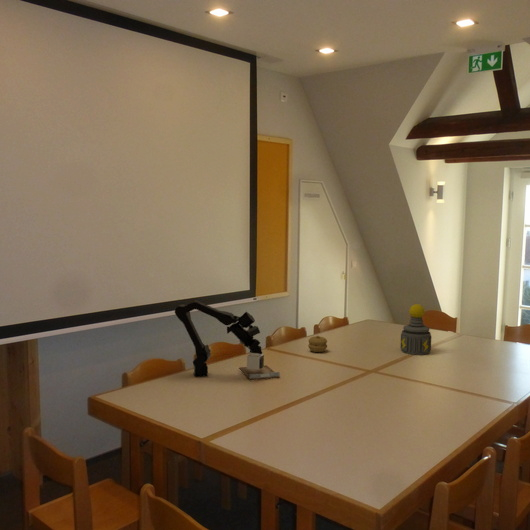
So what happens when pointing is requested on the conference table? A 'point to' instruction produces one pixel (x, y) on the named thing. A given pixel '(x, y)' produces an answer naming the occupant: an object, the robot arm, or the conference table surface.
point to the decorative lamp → (416, 334)
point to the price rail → (264, 375)
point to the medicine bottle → (255, 360)
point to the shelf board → (263, 370)
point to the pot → (317, 344)
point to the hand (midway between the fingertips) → (259, 352)
